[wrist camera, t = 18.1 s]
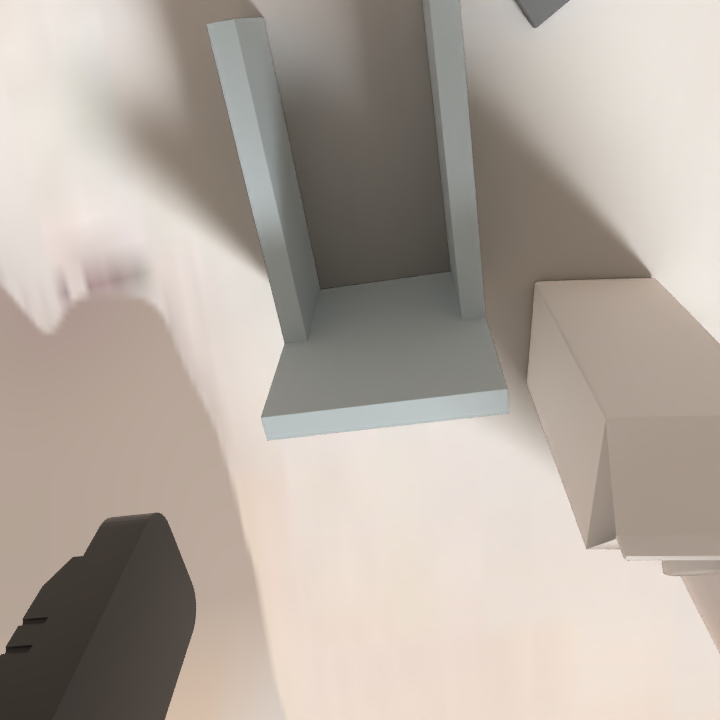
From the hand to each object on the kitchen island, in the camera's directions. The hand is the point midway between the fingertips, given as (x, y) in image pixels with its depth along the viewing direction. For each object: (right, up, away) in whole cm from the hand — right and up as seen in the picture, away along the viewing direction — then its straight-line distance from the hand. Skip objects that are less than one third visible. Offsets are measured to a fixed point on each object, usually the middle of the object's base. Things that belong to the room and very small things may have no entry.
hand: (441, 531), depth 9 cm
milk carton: (+13, +4, +31) cm, 34 cm away
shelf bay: (-1, +14, +27) cm, 30 cm away
